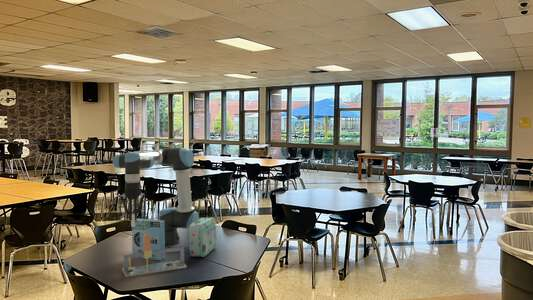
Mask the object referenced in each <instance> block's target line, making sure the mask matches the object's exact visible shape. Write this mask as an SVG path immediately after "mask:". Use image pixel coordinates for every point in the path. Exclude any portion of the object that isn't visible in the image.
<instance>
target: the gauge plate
mask: <svg viewBox="0 0 533 300" xmlns="http://www.w3.org/2000/svg"><path fill="white" fill-rule="evenodd" d="M187 266H188V265H187V264H186V263H185V262H184V263H182V264H181V263H180V259H177V260H172V261H171V260H169V261H164V262H157V263H151V264H149V263H148V268H146V264H145V265H144V264H143V265H137V266H131V271H129V267H128V272H124V269H123V268H122V269H121V271H122V273H123V275H124V277H125V278H130V277H134V276H136V275H137V276H142V275H149V274H154V273H155V274H156V273H161V272H167V271H173V270H179V269H186V268H187ZM129 276H130V277H129Z"/></svg>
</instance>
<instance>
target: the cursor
mask: <svg viewBox="0 0 533 300" xmlns="http://www.w3.org/2000/svg"><path fill="white" fill-rule="evenodd" d="M142 250H143V252H144V258H146V259H145V262H146V263H145V265H146V268H148V265H149V259H148V258H150V257H152V250H151V246H150V234H144V249H142Z"/></svg>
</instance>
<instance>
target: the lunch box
mask: <svg viewBox="0 0 533 300" xmlns="http://www.w3.org/2000/svg"><path fill="white" fill-rule="evenodd" d="M187 237H188V238H187V239H188V250H189V251H188V252H189V256H190V257H202V258H204V257H207V255H209V254H210V253H211V252H212V251H214V249H215V248H216V246H217V224H216V219H215V217H208V218H207V217H206V218H205V217H201V218H200V219H199V220H197V221H195V222H193V223H192V224H191V225H190V226H189V228H188V229H187Z"/></svg>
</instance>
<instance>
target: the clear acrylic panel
mask: <svg viewBox="0 0 533 300" xmlns="http://www.w3.org/2000/svg"><path fill="white" fill-rule="evenodd" d="M173 252H174V253H175V252H179V260H180V263H181V264H182V263H185V246H178V247H172V248H171V247H169V248H165V249H161V250H154V251H152V255H153V254H160V253H165V254H166V253H173ZM138 256H144V252H139V253H132V252H131V253H125V254H123V255H122V257H123V259H122V260H123V261H122V262H123V269H124V272H128V268H129V271H131V267H132V266H131V265H132V264H131V262H132V261H131V258H133V257H138Z"/></svg>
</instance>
